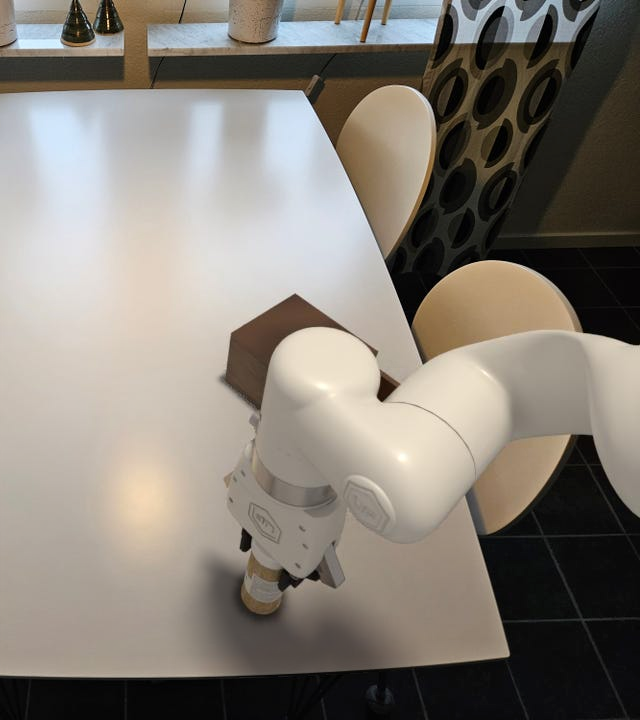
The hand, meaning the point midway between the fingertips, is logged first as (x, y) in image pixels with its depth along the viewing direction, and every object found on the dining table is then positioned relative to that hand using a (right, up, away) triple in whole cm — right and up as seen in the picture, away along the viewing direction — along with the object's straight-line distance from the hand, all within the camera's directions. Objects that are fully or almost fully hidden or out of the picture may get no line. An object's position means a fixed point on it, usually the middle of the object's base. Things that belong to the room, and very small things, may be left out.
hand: (270, 560), depth 65 cm
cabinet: (+8, +16, +27) cm, 32 cm away
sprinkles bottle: (0, -6, +7) cm, 9 cm away
